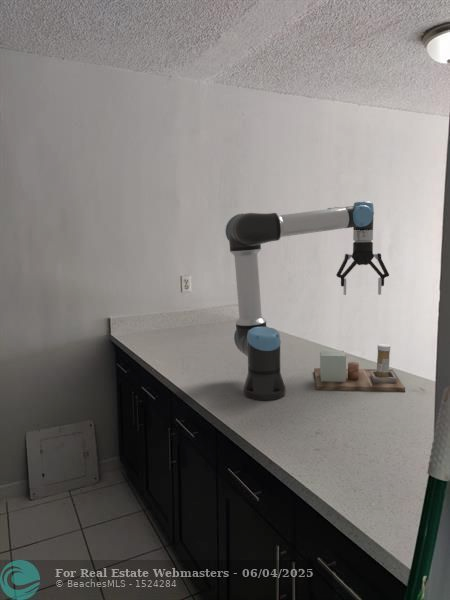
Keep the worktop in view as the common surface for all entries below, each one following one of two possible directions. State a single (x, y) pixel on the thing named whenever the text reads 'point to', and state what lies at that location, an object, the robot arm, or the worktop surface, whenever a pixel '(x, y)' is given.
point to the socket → (389, 379)
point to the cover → (332, 366)
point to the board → (357, 381)
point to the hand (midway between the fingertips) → (362, 294)
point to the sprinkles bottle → (383, 360)
